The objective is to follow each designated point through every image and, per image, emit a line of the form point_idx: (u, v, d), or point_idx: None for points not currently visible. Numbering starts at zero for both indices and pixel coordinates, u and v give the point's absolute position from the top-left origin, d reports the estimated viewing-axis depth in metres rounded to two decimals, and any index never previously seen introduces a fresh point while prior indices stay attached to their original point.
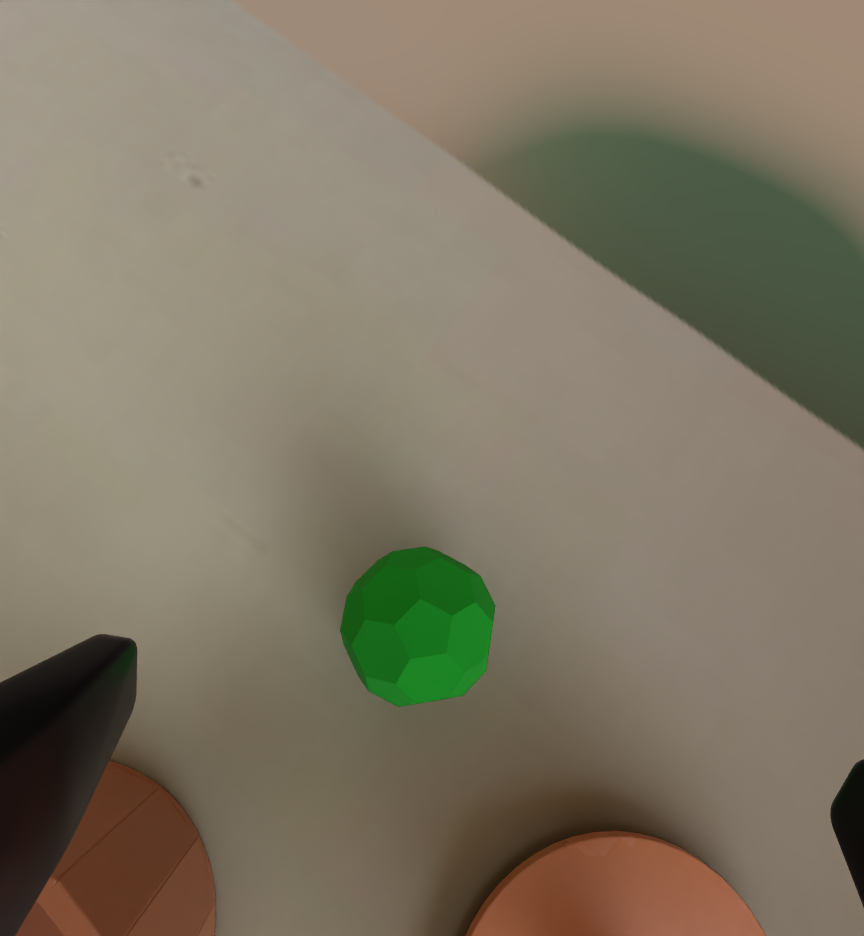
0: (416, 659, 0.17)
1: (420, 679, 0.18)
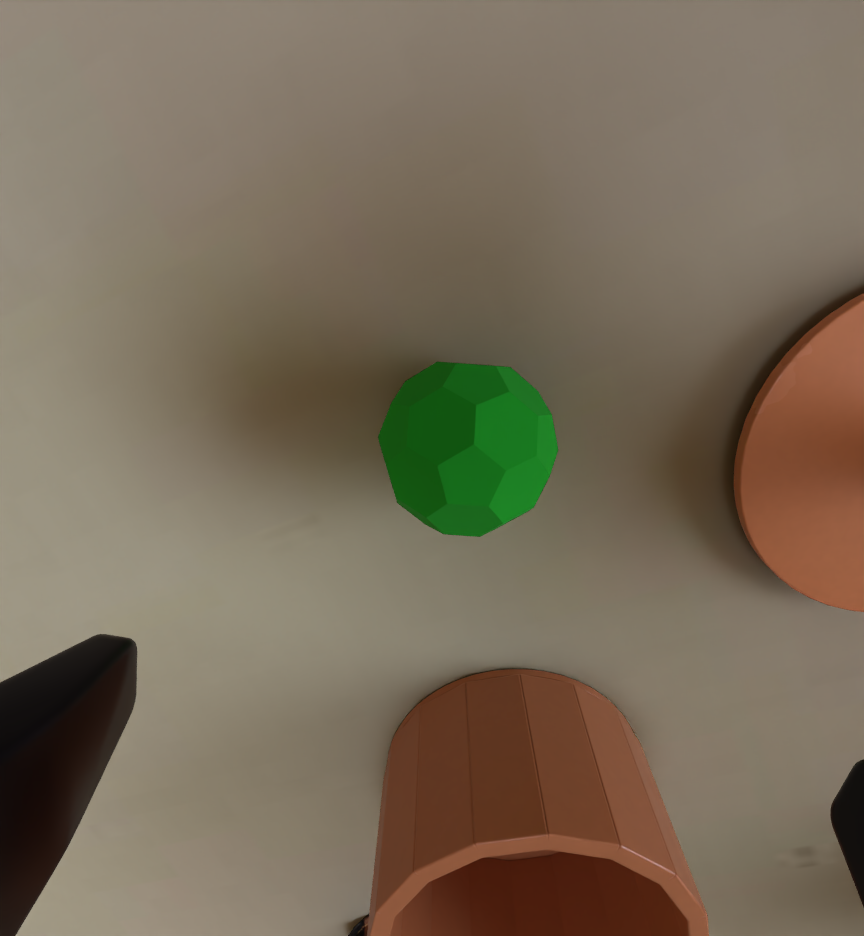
0: (492, 500, 0.15)
1: (514, 500, 0.16)
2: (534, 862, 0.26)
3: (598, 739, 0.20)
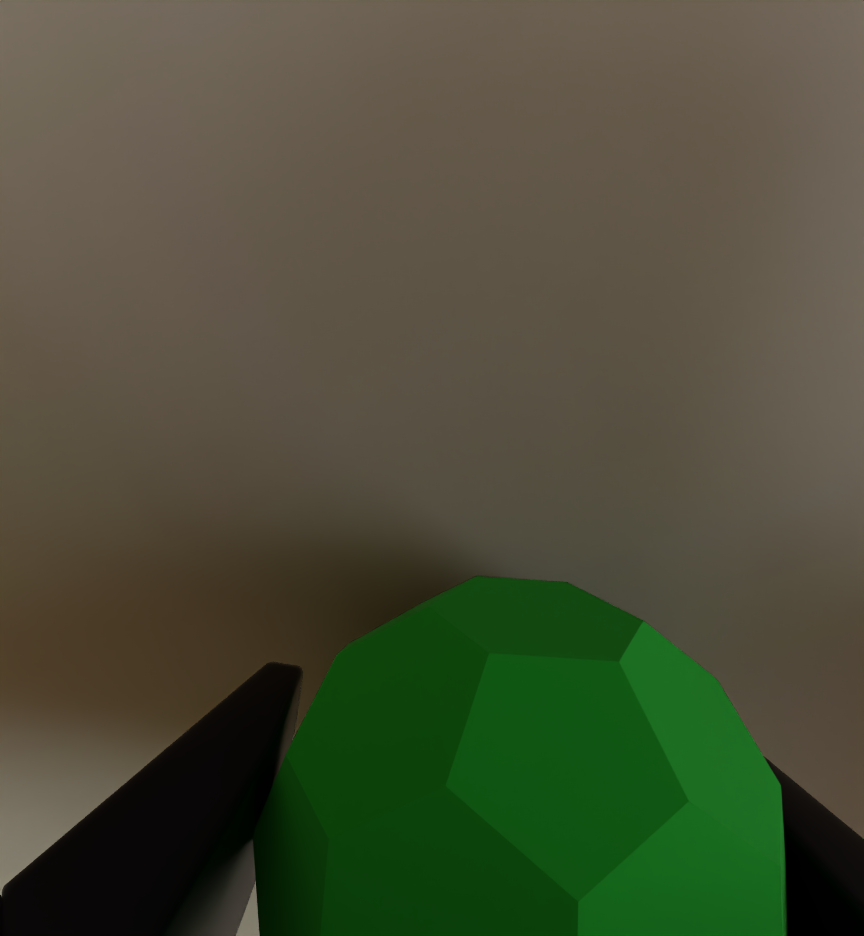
0: None
1: None
2: None
3: None
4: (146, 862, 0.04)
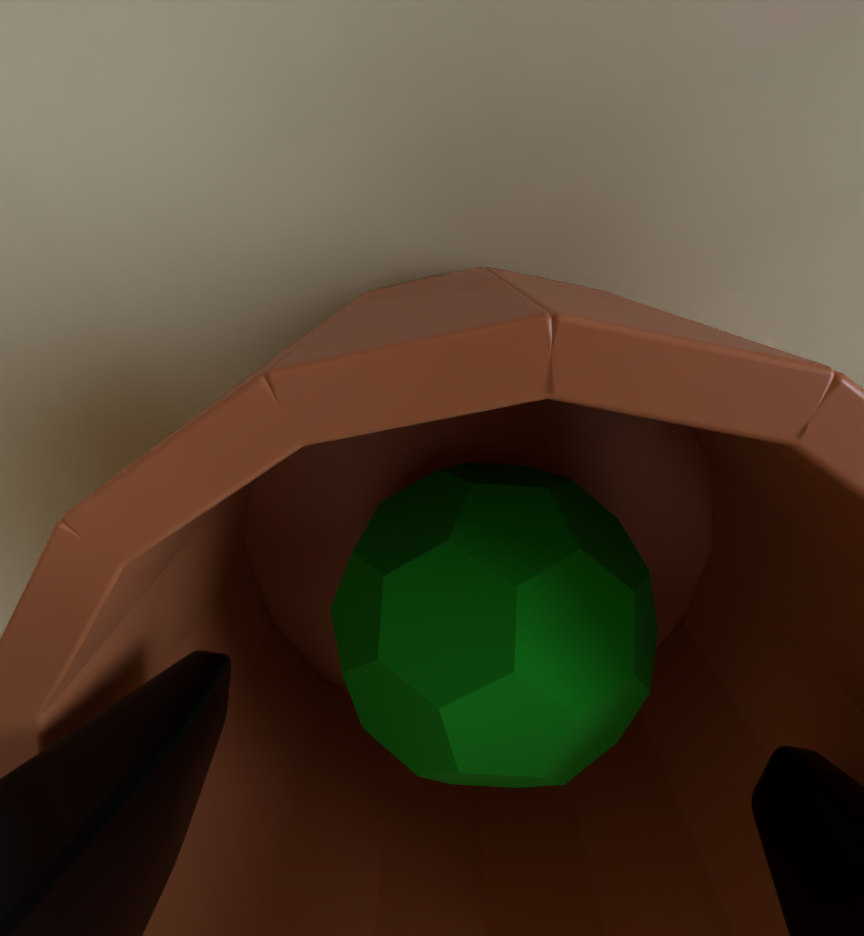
0: (549, 766, 0.08)
1: (587, 748, 0.08)
2: None
3: None
4: (21, 845, 0.04)
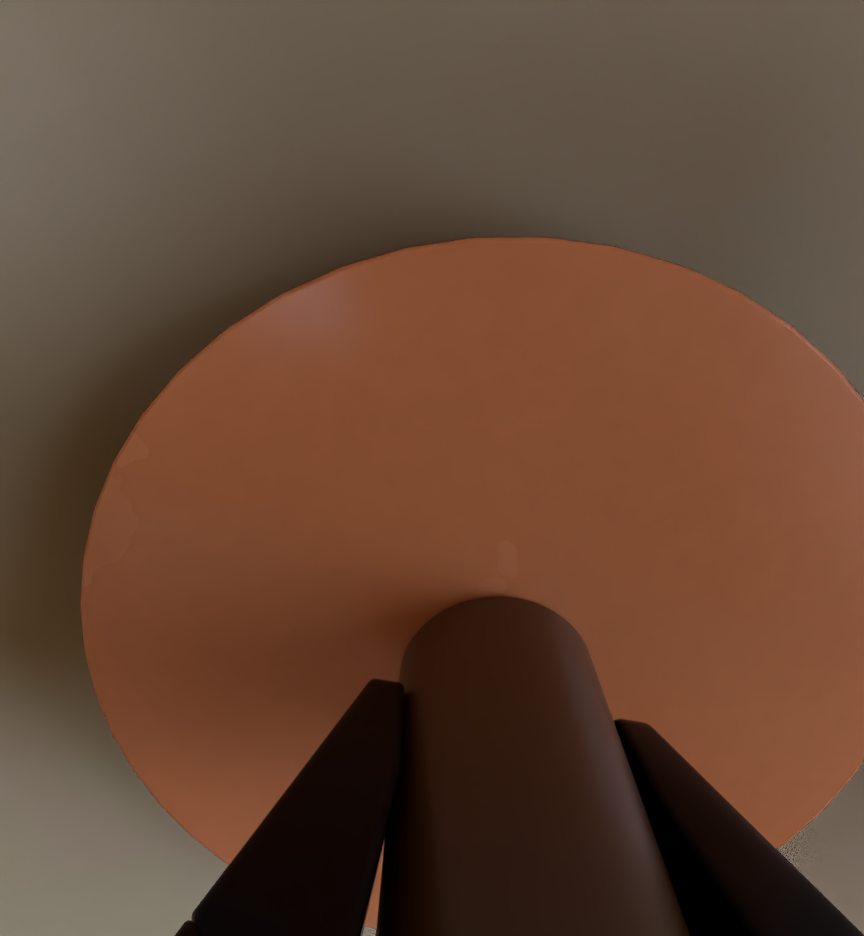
0: None
1: None
2: None
3: None
4: (319, 887, 0.04)
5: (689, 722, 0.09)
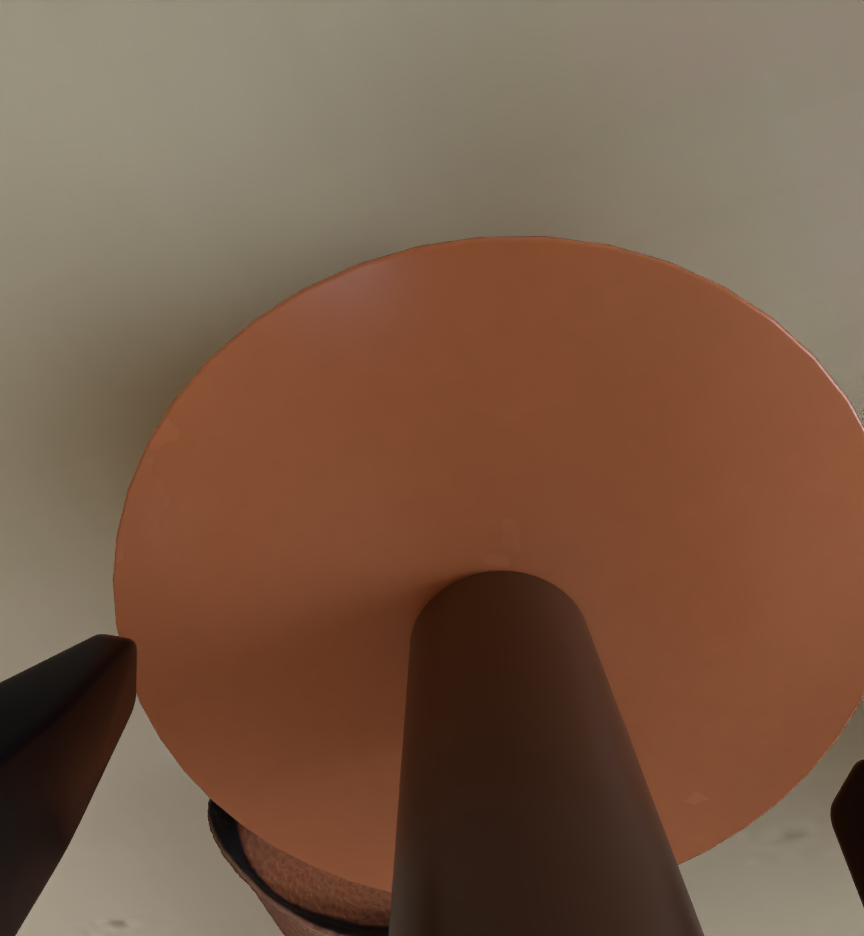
0: None
1: None
2: None
3: None
4: None
5: (680, 690, 0.09)
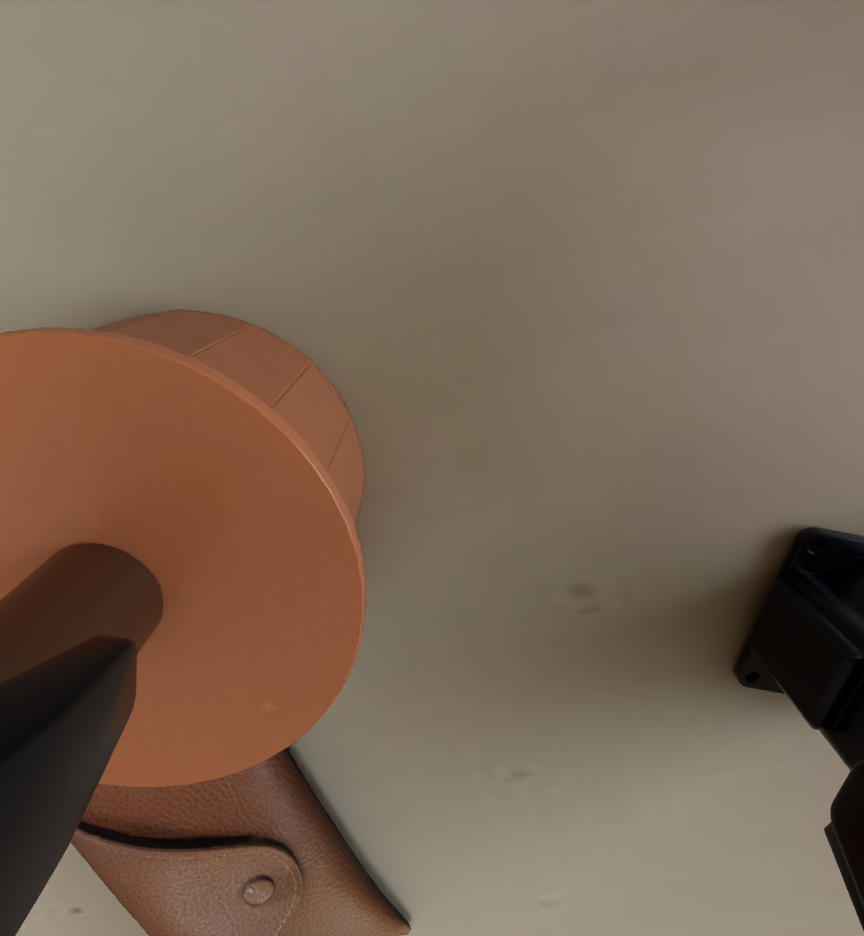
0: None
1: None
2: None
3: (241, 348, 0.16)
4: None
5: (235, 628, 0.13)
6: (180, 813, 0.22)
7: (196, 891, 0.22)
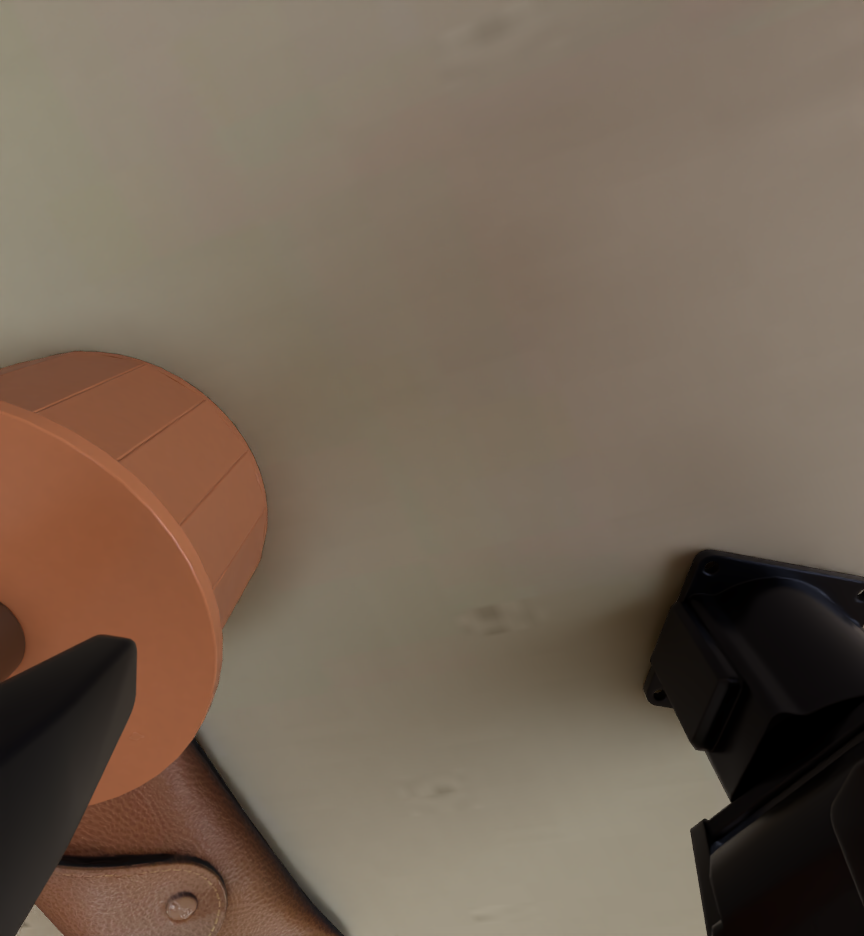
0: None
1: None
2: None
3: (121, 390, 0.16)
4: None
5: None
6: (101, 831, 0.22)
7: (119, 908, 0.23)
